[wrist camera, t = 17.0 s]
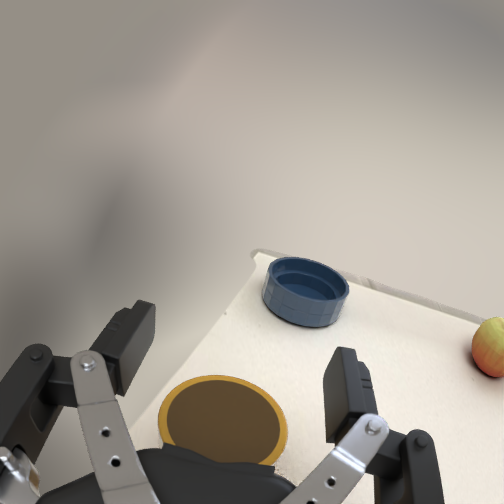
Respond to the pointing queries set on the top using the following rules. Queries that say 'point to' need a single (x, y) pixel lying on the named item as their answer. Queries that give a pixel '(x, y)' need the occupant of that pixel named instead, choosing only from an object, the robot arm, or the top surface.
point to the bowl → (304, 291)
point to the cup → (224, 420)
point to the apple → (490, 347)
